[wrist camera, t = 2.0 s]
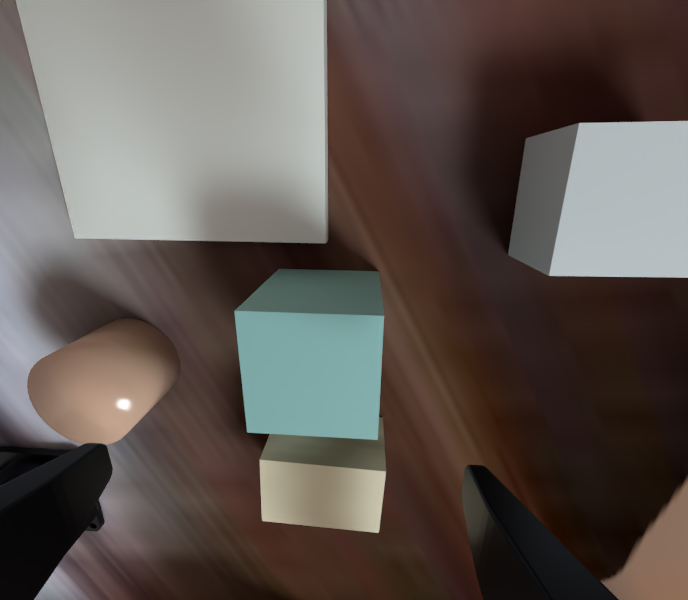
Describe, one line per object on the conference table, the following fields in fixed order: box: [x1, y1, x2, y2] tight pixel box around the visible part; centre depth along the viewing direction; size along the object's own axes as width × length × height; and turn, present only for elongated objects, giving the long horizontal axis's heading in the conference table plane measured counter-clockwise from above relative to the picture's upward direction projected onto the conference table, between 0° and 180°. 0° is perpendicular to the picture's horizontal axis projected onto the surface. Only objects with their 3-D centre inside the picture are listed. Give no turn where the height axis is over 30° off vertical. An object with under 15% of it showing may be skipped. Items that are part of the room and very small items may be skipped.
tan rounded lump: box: [27, 318, 180, 445], centre depth 17 cm, size 5×5×4 cm
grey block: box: [508, 121, 688, 278], centre depth 13 cm, size 5×5×4 cm
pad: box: [16, 0, 328, 243], centre depth 14 cm, size 12×12×1 cm
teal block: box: [234, 269, 384, 440], centre depth 15 cm, size 5×5×6 cm
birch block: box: [260, 417, 386, 533], centre depth 18 cm, size 6×4×4 cm, turn 87°
